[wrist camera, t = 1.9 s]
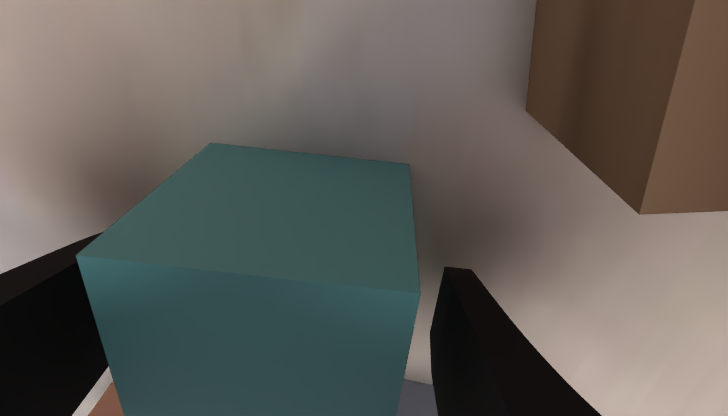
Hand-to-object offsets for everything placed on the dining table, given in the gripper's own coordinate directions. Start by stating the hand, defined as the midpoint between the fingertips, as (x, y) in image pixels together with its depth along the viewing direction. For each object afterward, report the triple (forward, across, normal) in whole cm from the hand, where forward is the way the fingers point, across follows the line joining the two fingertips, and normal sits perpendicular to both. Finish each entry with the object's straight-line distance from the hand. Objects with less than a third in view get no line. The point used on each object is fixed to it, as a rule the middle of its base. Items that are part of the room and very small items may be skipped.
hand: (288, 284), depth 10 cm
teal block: (+2, 0, 0) cm, 2 cm away
